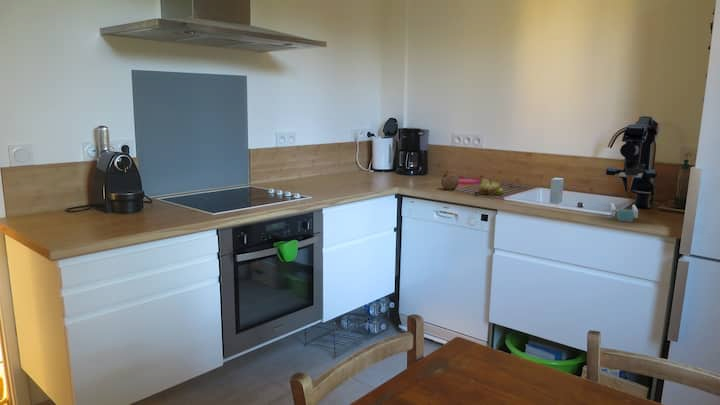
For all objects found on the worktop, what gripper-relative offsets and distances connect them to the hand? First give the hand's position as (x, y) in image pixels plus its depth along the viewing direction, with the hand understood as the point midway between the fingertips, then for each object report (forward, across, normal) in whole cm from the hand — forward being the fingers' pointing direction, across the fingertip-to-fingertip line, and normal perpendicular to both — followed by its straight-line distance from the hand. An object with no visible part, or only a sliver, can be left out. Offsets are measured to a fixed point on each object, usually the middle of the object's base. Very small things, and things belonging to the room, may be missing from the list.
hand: (628, 192), depth 217 cm
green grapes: (+12, -62, +32) cm, 71 cm away
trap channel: (+11, 0, +12) cm, 16 cm away
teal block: (+12, 0, 0) cm, 12 cm away
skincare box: (+11, -29, +24) cm, 40 cm away
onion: (+12, -85, +35) cm, 93 cm away
